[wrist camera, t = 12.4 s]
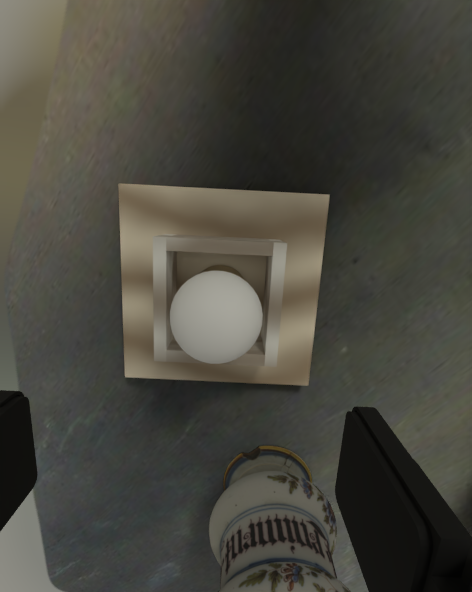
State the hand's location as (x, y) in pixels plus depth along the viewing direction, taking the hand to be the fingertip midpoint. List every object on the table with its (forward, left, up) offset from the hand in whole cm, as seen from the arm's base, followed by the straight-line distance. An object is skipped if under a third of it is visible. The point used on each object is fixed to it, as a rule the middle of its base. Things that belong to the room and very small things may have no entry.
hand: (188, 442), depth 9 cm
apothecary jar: (+22, +6, -22) cm, 32 cm away
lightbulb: (0, 0, -20) cm, 20 cm away
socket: (0, 0, -22) cm, 22 cm away
